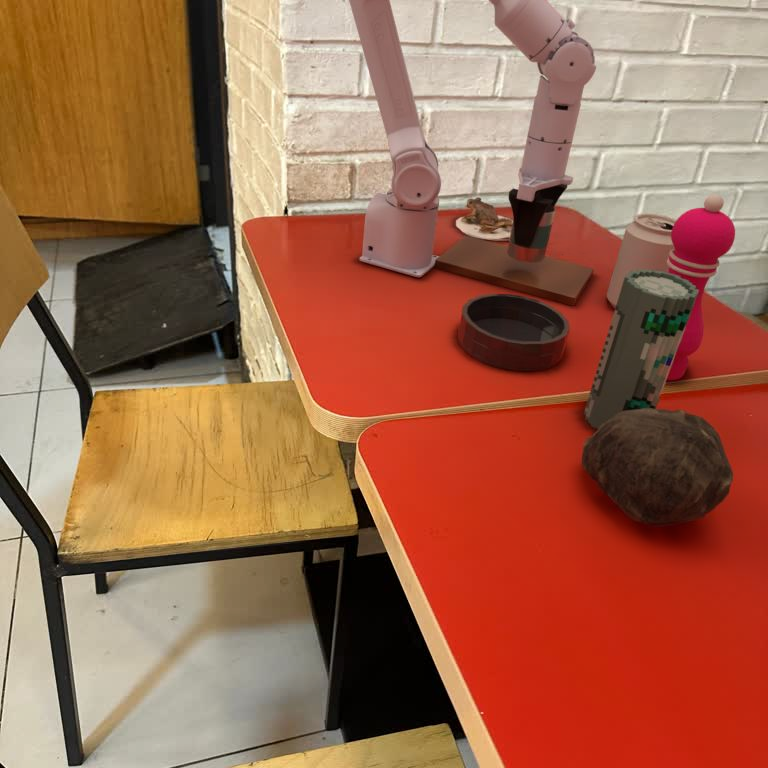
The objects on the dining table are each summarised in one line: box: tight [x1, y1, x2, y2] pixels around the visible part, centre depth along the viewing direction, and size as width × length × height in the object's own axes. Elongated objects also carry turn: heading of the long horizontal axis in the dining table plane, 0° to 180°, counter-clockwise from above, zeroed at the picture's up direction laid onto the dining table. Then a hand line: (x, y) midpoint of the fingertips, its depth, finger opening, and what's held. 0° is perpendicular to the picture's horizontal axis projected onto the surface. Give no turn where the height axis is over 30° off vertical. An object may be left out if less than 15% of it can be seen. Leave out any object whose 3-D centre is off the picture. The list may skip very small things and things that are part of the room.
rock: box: [581, 408, 734, 527], centre depth 57 cm, size 10×11×10 cm
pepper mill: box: [666, 194, 736, 381], centre depth 74 cm, size 7×7×20 cm
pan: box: [457, 293, 571, 372], centre depth 80 cm, size 12×12×4 cm
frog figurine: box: [455, 196, 513, 242], centre depth 113 cm, size 12×12×4 cm
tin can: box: [507, 205, 556, 262], centre depth 95 cm, size 5×5×7 cm
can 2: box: [583, 269, 699, 430], centre depth 65 cm, size 6×6×15 cm
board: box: [433, 235, 595, 307], centre depth 99 cm, size 20×12×1 cm, turn 64°
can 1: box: [606, 213, 677, 309], centre depth 89 cm, size 8×8×12 cm
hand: (528, 238), depth 96 cm, fingers closed on tin can, 5 cm apart
